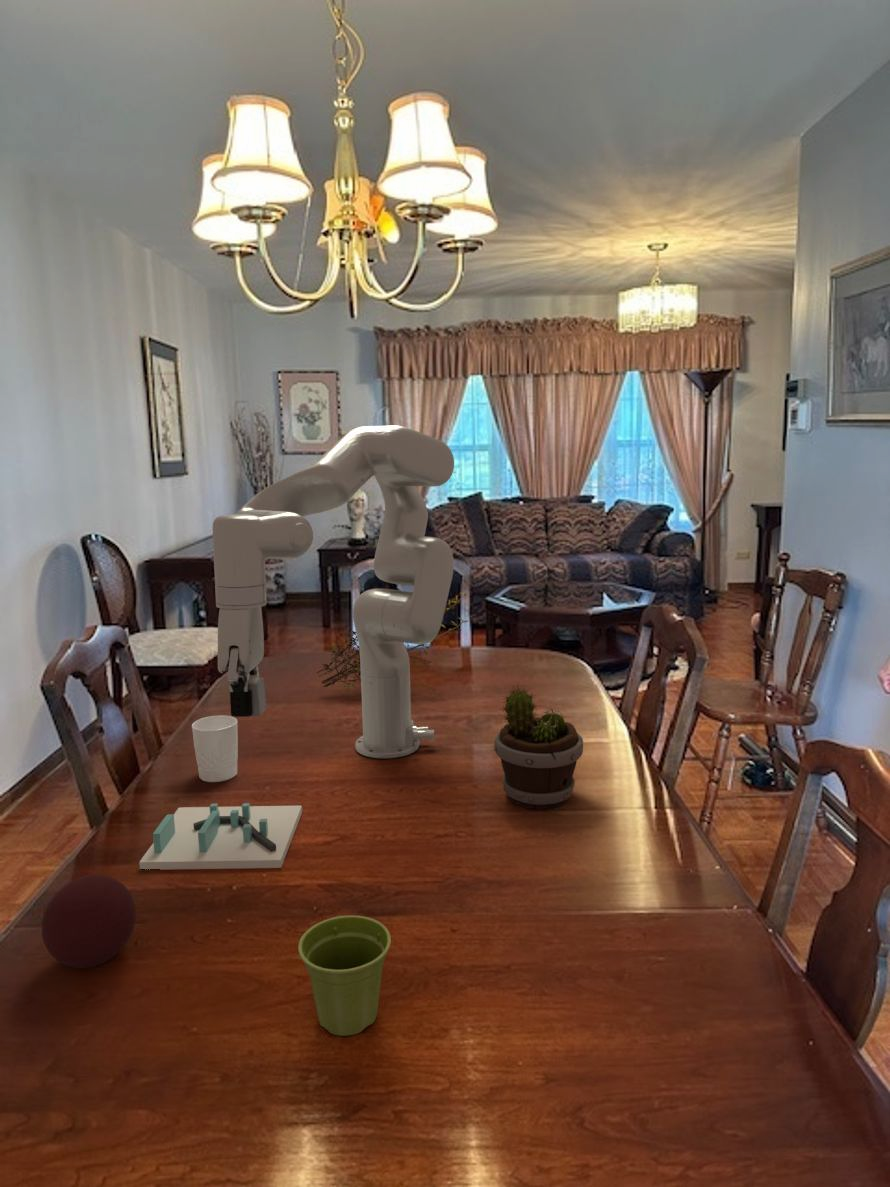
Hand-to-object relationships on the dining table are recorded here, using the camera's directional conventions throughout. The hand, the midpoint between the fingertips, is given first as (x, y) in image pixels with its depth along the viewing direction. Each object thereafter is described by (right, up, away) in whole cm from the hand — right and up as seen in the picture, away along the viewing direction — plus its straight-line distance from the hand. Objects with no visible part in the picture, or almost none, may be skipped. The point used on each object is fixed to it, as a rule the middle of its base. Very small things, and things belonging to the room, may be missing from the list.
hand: (245, 709), depth 123 cm
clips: (-1, -18, -3) cm, 18 cm away
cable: (0, -18, -5) cm, 19 cm away
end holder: (-7, -19, -7) cm, 21 cm away
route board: (-2, -19, -3) cm, 20 cm away
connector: (+1, 0, 0) cm, 1 cm away
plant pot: (+21, -26, -41) cm, 53 cm away
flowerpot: (+47, -16, +9) cm, 51 cm away
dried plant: (+21, -5, +69) cm, 72 cm away
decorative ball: (-10, -25, -31) cm, 41 cm away
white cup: (-10, -15, +20) cm, 27 cm away
